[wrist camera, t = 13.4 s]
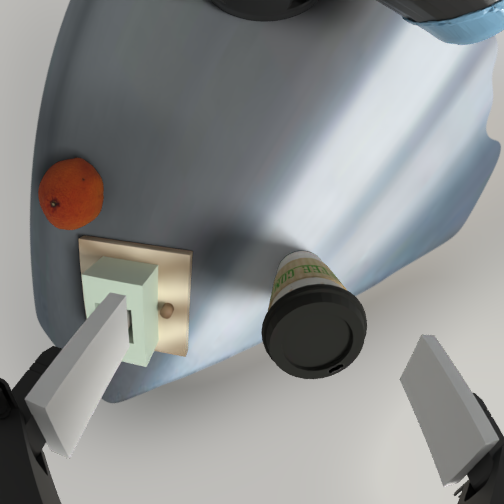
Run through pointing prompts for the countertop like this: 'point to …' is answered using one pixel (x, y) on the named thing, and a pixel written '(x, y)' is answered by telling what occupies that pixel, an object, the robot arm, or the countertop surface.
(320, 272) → the coffee cup
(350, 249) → the countertop surface
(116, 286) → the green block with window
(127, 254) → the post base
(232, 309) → the countertop surface
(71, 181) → the fruit
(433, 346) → the robot arm
